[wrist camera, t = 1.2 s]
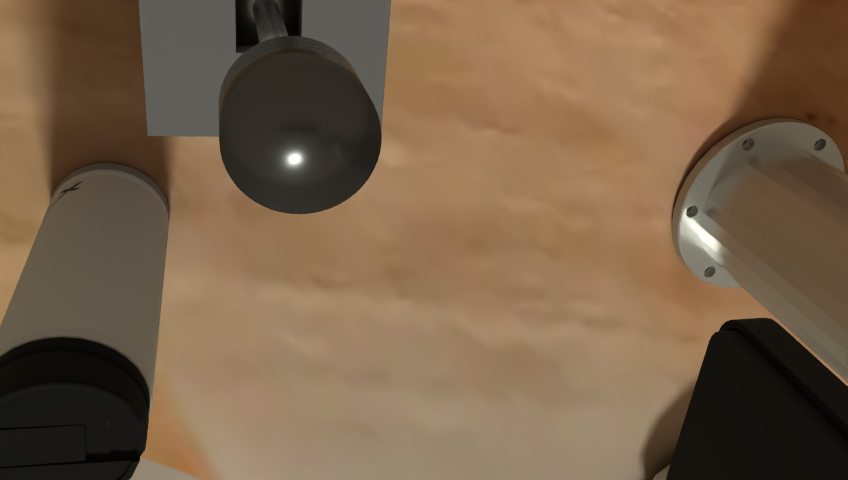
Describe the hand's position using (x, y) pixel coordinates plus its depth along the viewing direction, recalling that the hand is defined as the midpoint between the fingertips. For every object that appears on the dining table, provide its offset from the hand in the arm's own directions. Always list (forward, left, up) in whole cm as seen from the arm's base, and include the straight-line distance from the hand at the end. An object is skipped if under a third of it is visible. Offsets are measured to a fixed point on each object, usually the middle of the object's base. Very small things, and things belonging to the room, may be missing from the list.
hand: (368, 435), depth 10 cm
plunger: (0, 0, -25) cm, 25 cm away
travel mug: (+8, +14, -36) cm, 39 cm away
